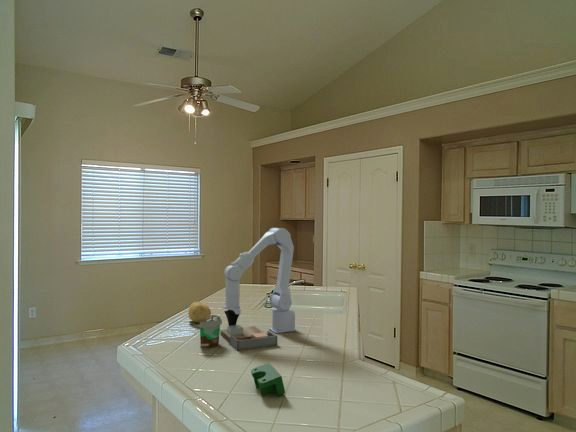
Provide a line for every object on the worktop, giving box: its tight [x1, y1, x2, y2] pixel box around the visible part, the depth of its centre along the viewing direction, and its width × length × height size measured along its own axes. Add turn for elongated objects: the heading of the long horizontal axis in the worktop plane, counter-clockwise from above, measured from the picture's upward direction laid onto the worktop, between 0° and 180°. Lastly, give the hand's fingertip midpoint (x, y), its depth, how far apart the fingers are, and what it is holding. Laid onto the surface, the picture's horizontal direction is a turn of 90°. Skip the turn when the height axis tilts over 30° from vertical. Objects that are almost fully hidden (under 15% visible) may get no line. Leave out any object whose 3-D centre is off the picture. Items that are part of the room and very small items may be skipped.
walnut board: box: [219, 325, 267, 344], centre depth 171 cm, size 15×14×2 cm
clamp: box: [250, 362, 286, 397], centre depth 119 cm, size 12×6×9 cm, turn 14°
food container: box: [198, 314, 223, 349], centre depth 160 cm, size 12×6×10 cm, turn 168°
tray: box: [229, 330, 278, 351], centre depth 161 cm, size 16×8×4 cm, turn 116°
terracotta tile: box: [251, 332, 268, 339], centre depth 164 cm, size 5×5×2 cm
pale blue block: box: [226, 324, 243, 335], centre depth 169 cm, size 5×5×2 cm
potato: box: [188, 301, 212, 324], centre depth 194 cm, size 10×14×10 cm
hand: (232, 328), depth 173 cm, fingers closed
